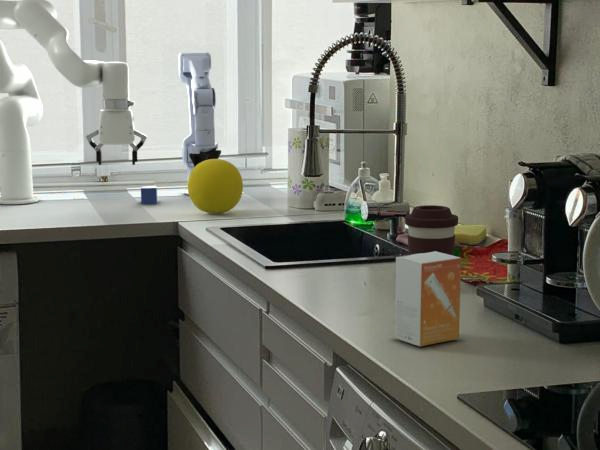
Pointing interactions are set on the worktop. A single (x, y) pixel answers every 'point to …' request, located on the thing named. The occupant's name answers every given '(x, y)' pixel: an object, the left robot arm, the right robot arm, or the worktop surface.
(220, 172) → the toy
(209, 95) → the right robot arm
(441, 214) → the coffee cup
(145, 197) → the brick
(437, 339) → the small box
